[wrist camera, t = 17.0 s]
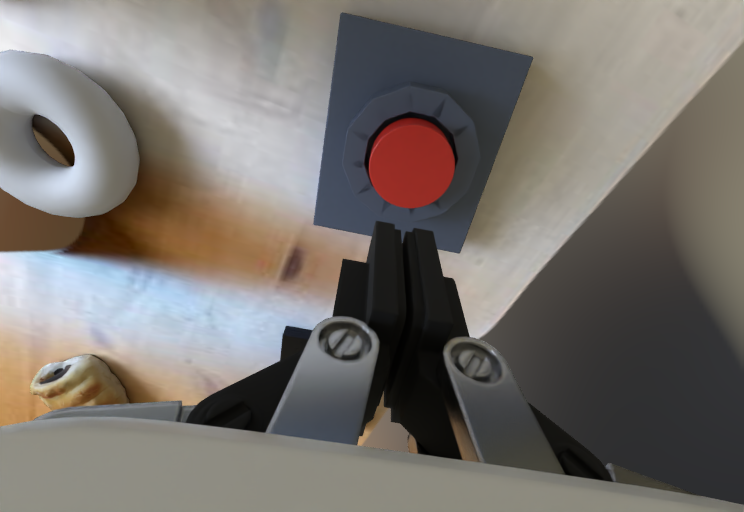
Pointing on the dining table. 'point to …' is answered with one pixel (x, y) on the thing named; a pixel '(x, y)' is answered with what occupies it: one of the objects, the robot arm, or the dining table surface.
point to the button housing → (413, 100)
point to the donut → (81, 126)
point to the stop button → (411, 163)
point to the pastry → (78, 384)
